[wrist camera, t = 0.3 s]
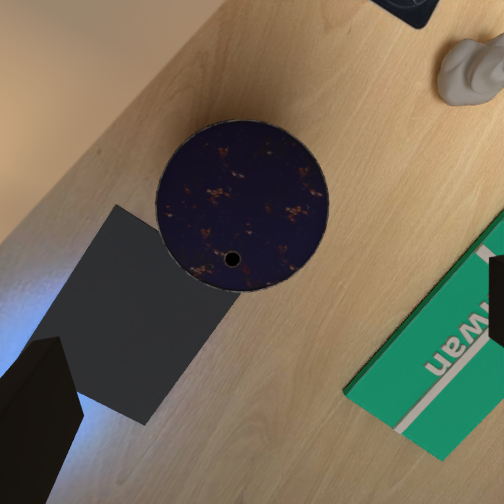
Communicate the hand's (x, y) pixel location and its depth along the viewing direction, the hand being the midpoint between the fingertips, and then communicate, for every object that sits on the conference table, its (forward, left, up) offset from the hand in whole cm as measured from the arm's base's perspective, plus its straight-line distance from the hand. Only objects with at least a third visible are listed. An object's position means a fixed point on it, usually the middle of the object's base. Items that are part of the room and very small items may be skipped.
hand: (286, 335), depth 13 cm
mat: (+9, -12, -26) cm, 30 cm away
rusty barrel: (-2, 0, -26) cm, 27 cm away
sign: (+19, +22, -26) cm, 39 cm away
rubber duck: (-7, +22, -26) cm, 35 cm away
